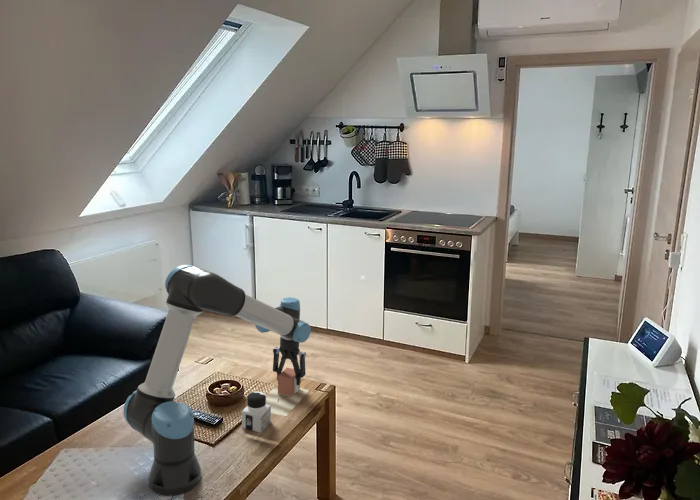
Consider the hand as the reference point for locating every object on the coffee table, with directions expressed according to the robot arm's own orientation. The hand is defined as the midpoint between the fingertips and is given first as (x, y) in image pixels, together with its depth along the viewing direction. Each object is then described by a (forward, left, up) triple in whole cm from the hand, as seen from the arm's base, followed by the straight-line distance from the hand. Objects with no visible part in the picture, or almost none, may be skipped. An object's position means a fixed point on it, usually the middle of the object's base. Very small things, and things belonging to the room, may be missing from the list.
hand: (288, 389), depth 216 cm
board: (-5, +4, -2) cm, 6 cm away
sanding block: (0, 0, -1) cm, 1 cm away
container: (-20, +17, -2) cm, 26 cm away
